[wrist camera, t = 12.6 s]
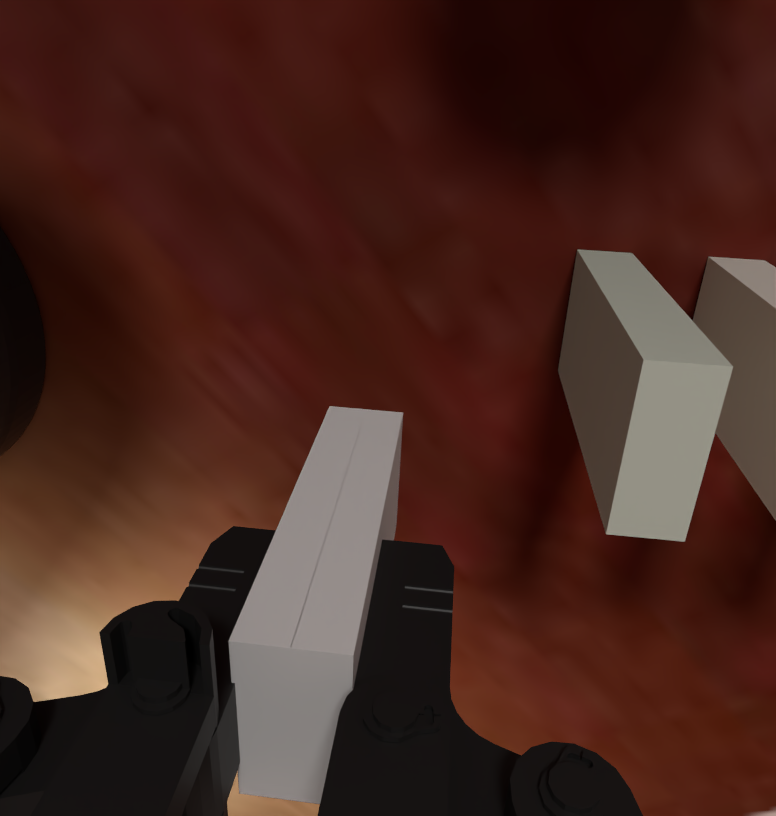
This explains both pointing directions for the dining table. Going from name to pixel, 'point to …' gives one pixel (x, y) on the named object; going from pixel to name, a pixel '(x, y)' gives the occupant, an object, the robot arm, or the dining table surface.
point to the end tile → (639, 395)
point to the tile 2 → (745, 363)
